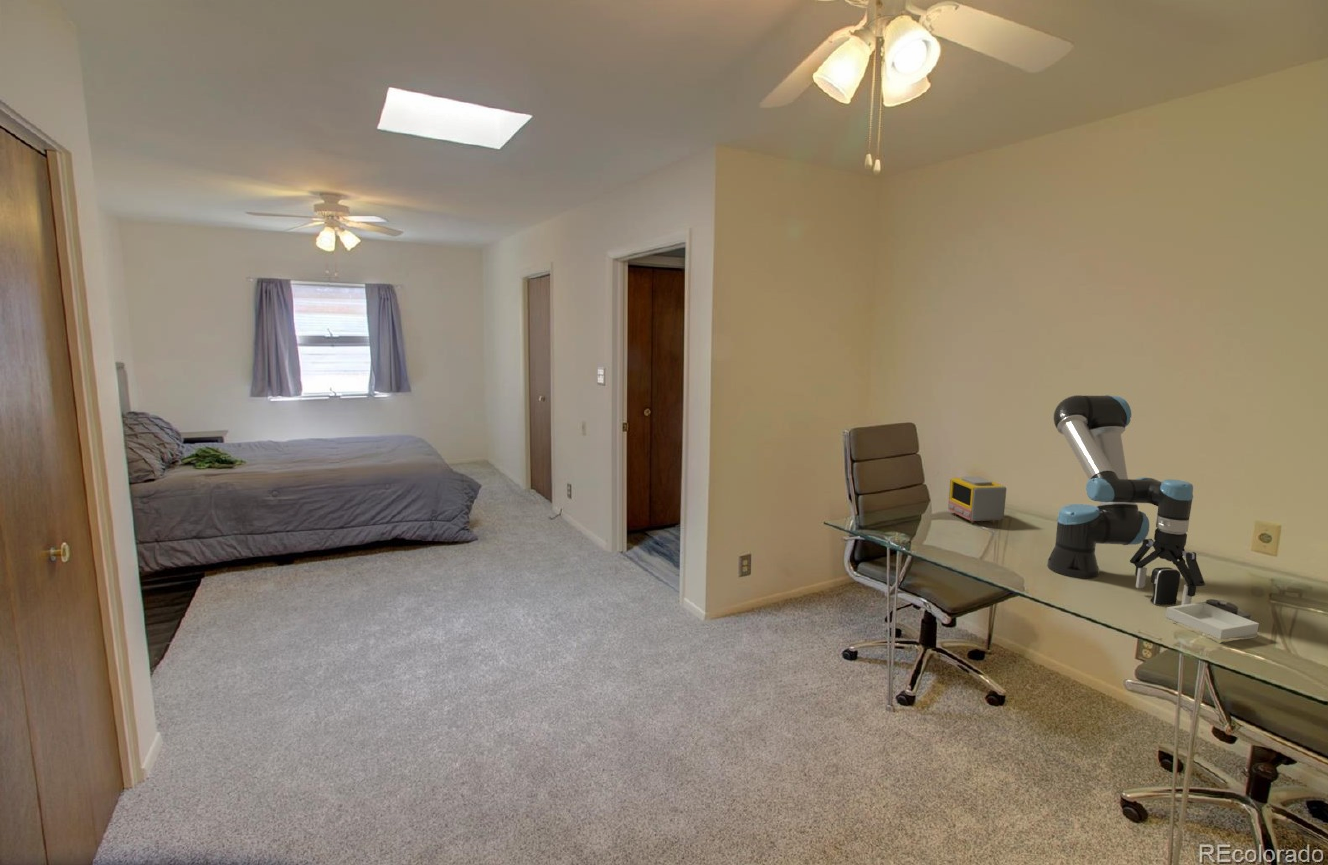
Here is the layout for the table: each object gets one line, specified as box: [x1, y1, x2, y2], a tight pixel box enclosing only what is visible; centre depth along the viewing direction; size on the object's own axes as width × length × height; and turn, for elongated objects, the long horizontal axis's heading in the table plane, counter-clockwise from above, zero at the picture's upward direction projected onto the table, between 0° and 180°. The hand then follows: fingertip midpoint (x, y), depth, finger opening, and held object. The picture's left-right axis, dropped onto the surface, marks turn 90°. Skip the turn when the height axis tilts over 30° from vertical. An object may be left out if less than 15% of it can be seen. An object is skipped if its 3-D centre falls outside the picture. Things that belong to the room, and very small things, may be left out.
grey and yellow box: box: [947, 475, 1007, 524], centre depth 272 cm, size 20×16×18 cm
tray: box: [1164, 601, 1260, 640], centre depth 170 cm, size 14×14×4 cm
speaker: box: [1203, 598, 1252, 620], centre depth 177 cm, size 10×8×4 cm
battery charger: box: [1149, 566, 1181, 606], centre depth 185 cm, size 7×4×11 cm, turn 94°
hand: (1162, 596), depth 186 cm, fingers open, 13 cm apart
